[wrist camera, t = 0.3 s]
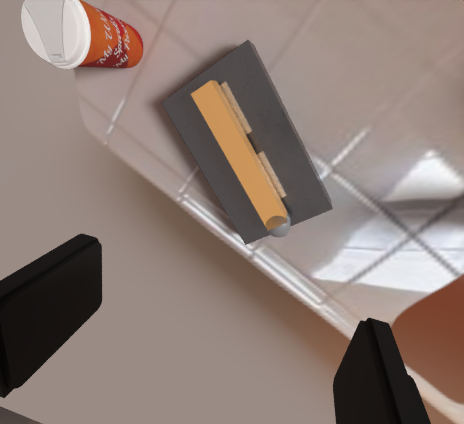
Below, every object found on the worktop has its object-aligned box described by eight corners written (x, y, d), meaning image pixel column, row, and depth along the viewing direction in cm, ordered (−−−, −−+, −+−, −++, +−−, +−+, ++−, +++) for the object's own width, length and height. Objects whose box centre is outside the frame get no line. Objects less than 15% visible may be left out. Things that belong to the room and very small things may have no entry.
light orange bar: (294, 224, 41) (294, 231, 39) (274, 232, 42) (272, 240, 40) (217, 80, 36) (211, 79, 34) (197, 94, 37) (190, 94, 35)
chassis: (173, 101, 44) (158, 102, 39) (253, 44, 38) (246, 38, 34) (250, 233, 49) (244, 246, 44) (330, 199, 43) (332, 210, 39)
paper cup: (153, 74, 43) (88, 66, 30) (108, 76, 45) (29, 69, 32) (146, 11, 40) (71, -27, 27) (97, 16, 42) (6, -17, 29)
